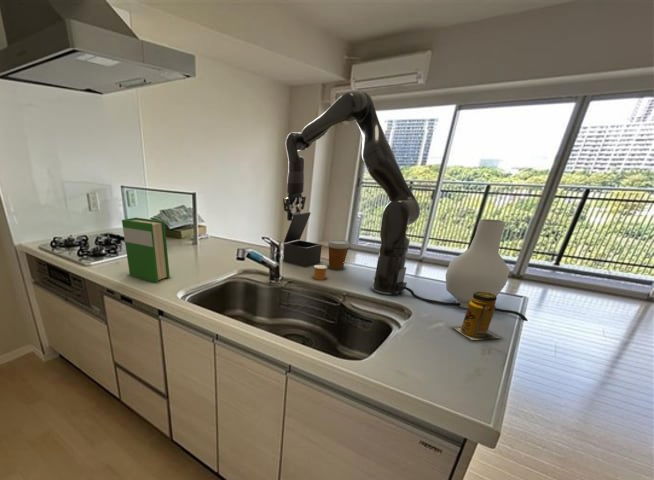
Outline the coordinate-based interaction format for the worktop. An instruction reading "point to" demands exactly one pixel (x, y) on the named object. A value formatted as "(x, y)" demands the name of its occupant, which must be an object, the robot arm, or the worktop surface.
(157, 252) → the hardback book
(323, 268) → the coffee pod
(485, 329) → the condiment
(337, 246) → the disposable coffee cup
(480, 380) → the worktop surface
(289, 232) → the lid
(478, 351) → the worktop surface
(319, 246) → the dark grey lidded box
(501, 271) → the vase
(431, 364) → the worktop surface
